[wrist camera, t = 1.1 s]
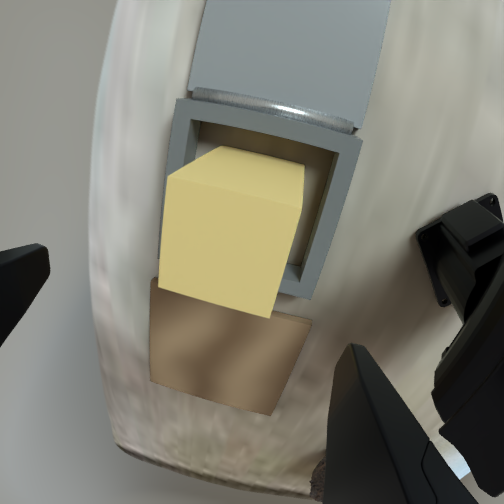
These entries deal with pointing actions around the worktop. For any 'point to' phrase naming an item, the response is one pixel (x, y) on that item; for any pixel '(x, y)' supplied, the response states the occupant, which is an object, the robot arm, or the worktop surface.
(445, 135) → the worktop surface
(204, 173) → the block
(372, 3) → the hinged window frame
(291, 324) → the walnut board
